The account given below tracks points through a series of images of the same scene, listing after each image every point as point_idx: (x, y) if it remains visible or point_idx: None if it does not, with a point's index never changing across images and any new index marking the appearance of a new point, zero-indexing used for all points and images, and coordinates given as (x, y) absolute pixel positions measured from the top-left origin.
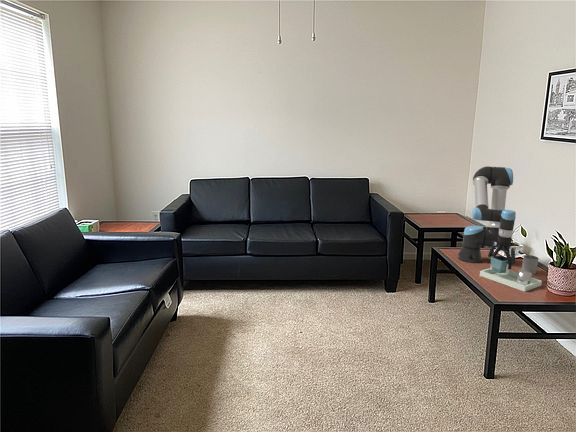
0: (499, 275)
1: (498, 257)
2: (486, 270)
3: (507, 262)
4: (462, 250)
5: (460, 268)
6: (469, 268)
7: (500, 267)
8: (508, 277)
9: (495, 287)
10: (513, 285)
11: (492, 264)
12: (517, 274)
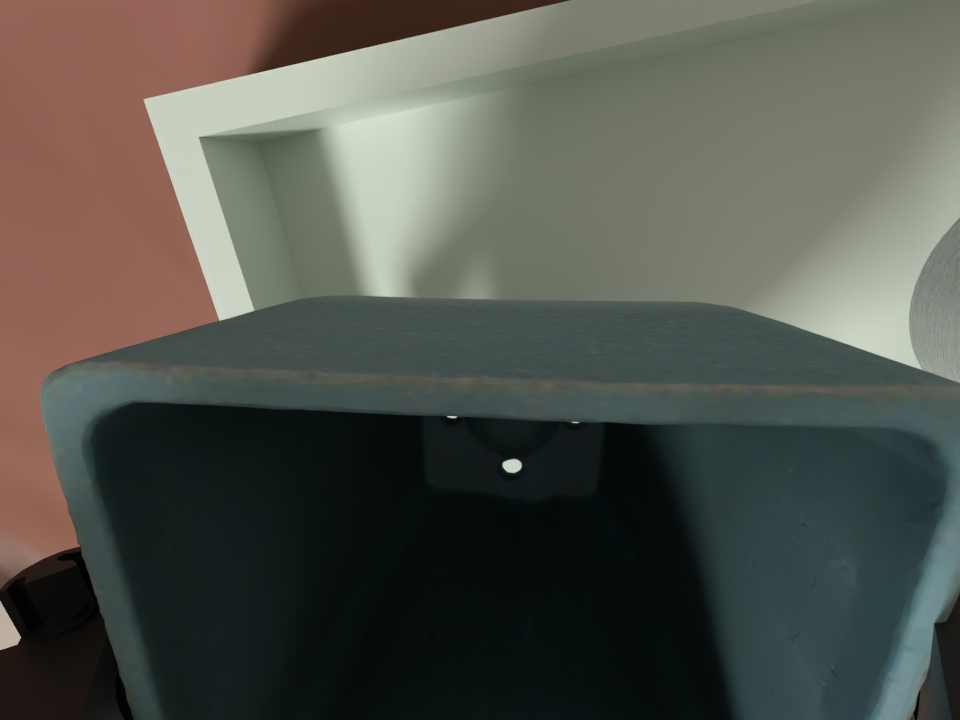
0: None
1: (173, 517)
2: None
3: (830, 649)
4: None
5: (9, 575)
6: (10, 453)
7: (675, 692)
8: (622, 214)
9: None
10: None
11: (388, 663)
12: (771, 15)
